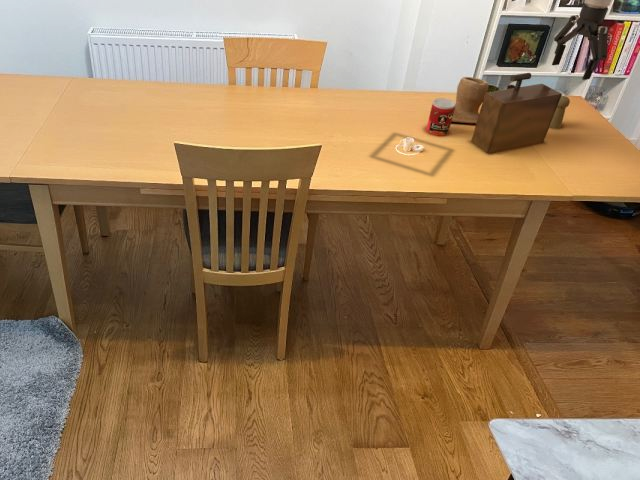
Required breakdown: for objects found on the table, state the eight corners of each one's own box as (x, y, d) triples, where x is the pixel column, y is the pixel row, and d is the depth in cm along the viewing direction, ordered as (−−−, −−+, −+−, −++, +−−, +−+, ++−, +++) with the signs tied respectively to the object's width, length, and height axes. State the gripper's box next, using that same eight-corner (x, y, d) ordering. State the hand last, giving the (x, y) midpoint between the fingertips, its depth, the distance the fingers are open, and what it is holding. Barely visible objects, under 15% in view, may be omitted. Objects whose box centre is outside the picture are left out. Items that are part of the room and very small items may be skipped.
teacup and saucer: (424, 150, 196) (427, 138, 193) (416, 159, 191) (419, 148, 188) (400, 142, 199) (402, 131, 197) (391, 152, 194) (393, 140, 191)
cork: (543, 128, 212) (554, 99, 205) (543, 121, 216) (553, 92, 209) (561, 131, 211) (573, 101, 203) (560, 124, 215) (571, 95, 208)
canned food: (426, 136, 204) (434, 106, 196) (424, 126, 210) (432, 96, 202) (449, 138, 203) (457, 108, 196) (446, 128, 209) (454, 98, 202)
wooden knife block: (568, 78, 187) (547, 68, 193) (509, 87, 180) (490, 77, 186) (542, 144, 202) (524, 133, 208) (487, 155, 195) (470, 143, 201)
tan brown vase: (478, 114, 219) (490, 74, 209) (484, 128, 210) (496, 87, 200) (437, 111, 220) (447, 71, 210) (441, 124, 211) (452, 84, 201)
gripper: (637, 15, 178) (607, 84, 192) (574, -7, 195) (551, 57, 209) (620, 17, 176) (591, 87, 190) (557, -5, 193) (535, 60, 207)
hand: (570, 71), depth 199 cm, fingers open, 13 cm apart
